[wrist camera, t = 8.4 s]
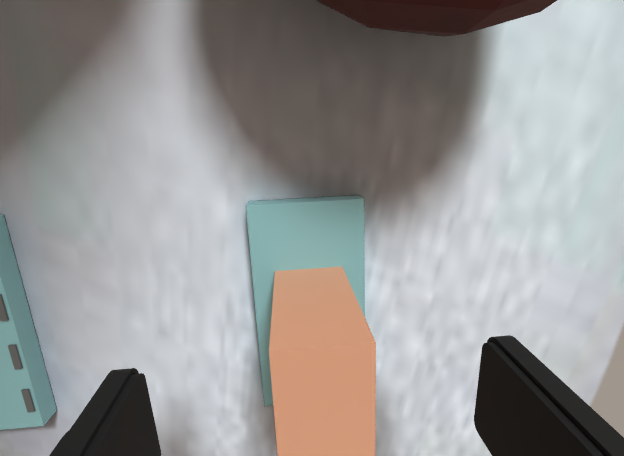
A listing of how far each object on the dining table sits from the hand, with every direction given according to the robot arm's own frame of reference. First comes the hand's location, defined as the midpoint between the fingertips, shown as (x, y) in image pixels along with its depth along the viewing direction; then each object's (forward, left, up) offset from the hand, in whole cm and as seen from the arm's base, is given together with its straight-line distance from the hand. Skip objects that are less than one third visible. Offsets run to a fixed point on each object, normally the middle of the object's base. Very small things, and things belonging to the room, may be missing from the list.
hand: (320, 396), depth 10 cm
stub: (+1, 0, -8) cm, 7 cm away
